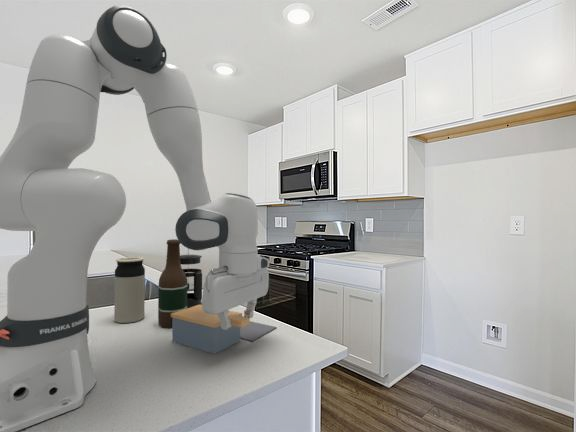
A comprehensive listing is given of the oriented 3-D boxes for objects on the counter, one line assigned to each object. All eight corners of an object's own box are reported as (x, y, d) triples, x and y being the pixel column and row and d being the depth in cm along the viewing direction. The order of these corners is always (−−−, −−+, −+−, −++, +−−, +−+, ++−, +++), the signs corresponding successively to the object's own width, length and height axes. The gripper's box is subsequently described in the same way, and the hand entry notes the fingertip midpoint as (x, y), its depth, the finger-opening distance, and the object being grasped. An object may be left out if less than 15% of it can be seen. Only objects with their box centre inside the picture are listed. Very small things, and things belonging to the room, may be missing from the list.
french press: (166, 306, 109) (166, 238, 109) (189, 300, 117) (190, 237, 116) (187, 312, 102) (188, 240, 102) (211, 305, 110) (211, 238, 110)
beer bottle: (152, 325, 90) (152, 240, 90) (173, 317, 97) (174, 238, 96) (171, 330, 86) (172, 241, 86) (192, 322, 93) (193, 239, 93)
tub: (214, 354, 72) (215, 327, 72) (172, 341, 79) (172, 316, 79) (240, 340, 80) (240, 316, 80) (199, 330, 87) (199, 307, 87)
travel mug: (144, 321, 93) (145, 259, 93) (113, 325, 90) (114, 261, 90) (144, 313, 100) (144, 256, 100) (115, 317, 97) (115, 257, 97)
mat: (252, 341, 79) (252, 340, 79) (210, 331, 86) (210, 329, 86) (276, 328, 88) (276, 327, 88) (236, 319, 95) (236, 318, 95)
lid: (231, 334, 69) (231, 325, 69) (170, 318, 79) (170, 311, 79) (257, 321, 77) (257, 314, 77) (199, 308, 87) (199, 302, 87)
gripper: (217, 271, 64) (217, 341, 64) (273, 259, 82) (272, 313, 82) (195, 268, 67) (194, 334, 67) (253, 257, 85) (252, 309, 85)
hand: (237, 322), depth 75 cm, fingers open, 7 cm apart
